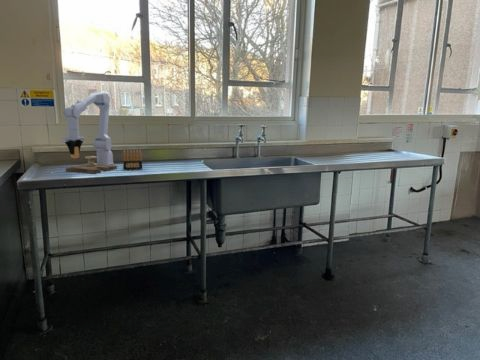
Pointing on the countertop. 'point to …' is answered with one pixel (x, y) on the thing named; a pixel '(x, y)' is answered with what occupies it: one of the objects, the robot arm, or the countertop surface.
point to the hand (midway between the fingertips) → (74, 153)
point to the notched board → (91, 168)
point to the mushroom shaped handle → (91, 161)
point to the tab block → (75, 153)
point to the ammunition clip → (132, 160)
